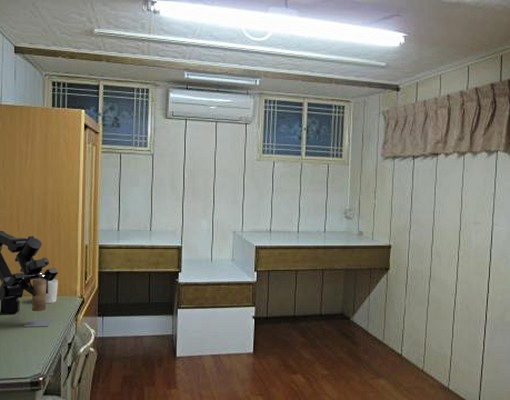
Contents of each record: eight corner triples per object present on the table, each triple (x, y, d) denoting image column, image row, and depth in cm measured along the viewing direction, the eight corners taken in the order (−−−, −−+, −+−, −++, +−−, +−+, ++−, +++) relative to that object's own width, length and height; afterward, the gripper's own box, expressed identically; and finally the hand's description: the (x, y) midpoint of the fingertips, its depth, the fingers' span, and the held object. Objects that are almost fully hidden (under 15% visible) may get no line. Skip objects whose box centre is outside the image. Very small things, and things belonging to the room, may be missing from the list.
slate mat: (23, 327, 184) (23, 326, 184) (29, 320, 193) (29, 319, 193) (47, 326, 186) (47, 325, 185) (52, 320, 194) (52, 319, 194)
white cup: (39, 300, 224) (40, 279, 224) (57, 299, 228) (57, 278, 227) (39, 304, 217) (40, 283, 217) (57, 303, 221) (58, 282, 220)
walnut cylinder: (29, 310, 187) (29, 280, 187) (38, 307, 192) (39, 278, 192) (38, 311, 186) (39, 282, 185) (48, 308, 190) (48, 279, 190)
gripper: (12, 253, 183) (26, 286, 177) (56, 249, 198) (70, 279, 192) (1, 270, 188) (15, 302, 182) (45, 265, 203) (59, 294, 197)
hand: (41, 294), depth 188 cm, fingers closed on walnut cylinder, 5 cm apart
